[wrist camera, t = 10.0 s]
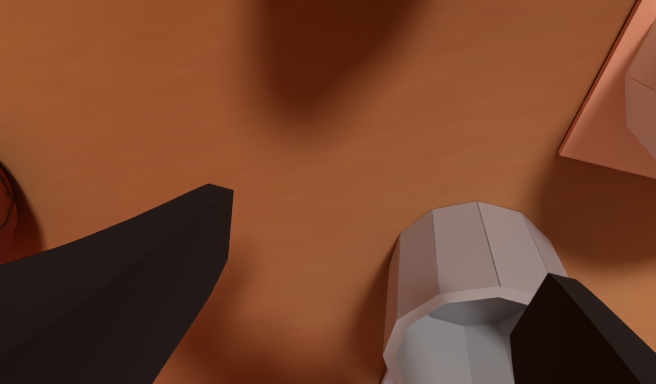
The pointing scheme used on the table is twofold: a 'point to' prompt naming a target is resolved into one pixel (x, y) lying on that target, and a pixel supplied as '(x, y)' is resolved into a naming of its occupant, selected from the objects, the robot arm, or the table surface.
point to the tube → (621, 103)
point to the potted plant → (6, 216)
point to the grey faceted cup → (462, 293)
